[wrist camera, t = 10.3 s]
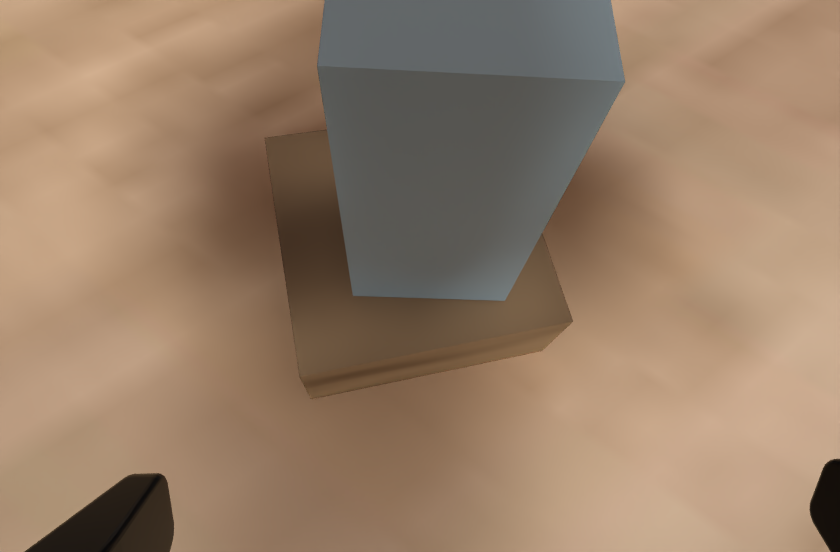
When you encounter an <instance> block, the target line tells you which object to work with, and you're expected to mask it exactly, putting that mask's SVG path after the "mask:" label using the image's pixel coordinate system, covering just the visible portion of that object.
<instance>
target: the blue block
mask: <svg viewBox="0 0 840 552" xmlns="http://www.w3.org/2000/svg"><path fill="white" fill-rule="evenodd" d="M317 68H318V74H319V81H320V87H321V94H322V100H323V106H324V113H325V119H326V126H327V132H328V139H329V145H330V152H331V158H332V165H333V171H334V177H335V184H336V190H337V197H338V203H339V210H340V216H341V223H342V229H343V235H344V242H345V248H346V255H347V261H348V268H349V274H350V281H351V287H352V293H353V296H371V297H402V298H432V299H463V300H494V301H505V300H506V298H507V296H508V294H509V292H510V291H511V289H512V287H513V285H514V283H515V281H516V280H517V278H518V276H519V274H520V272H521V270H522V269H523V267H524V265H525V263H526V261H527V260H528V258H529V256H530V254H531V252H532V250H533V249H534V247H535V245H536V243H537V241H538V240H539V238H540V236H541V234H542V232H543V230H544V229H545V227H546V225H547V223H548V221H549V219H550V218H551V216H552V214H553V212H554V210H555V209H556V207H557V205H558V203H559V201H560V199H561V198H562V196H563V194H564V192H565V190H566V188H567V187H568V185H569V183H570V181H571V179H572V178H573V176H574V174H575V172H576V170H577V168H578V167H579V165H580V163H581V161H582V159H583V157H584V156H585V154H586V152H587V150H588V148H589V147H590V145H591V143H592V141H593V139H594V137H595V136H596V134H597V132H598V130H599V128H600V126H601V125H602V123H603V121H604V119H605V117H606V116H607V114H608V112H609V110H610V108H611V106H612V105H613V103H614V101H615V99H616V97H617V95H618V94H619V92H620V90H621V88H622V86H623V85H624V83H625V78H624V73H623V67H622V61H621V56H620V50H619V44H618V39H617V33H616V27H615V22H614V16H613V10H612V5H611V0H325V3H324V12H323V20H322V29H321V37H320V46H319V55H318V63H317Z"/></svg>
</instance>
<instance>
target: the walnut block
mask: <svg viewBox="0 0 840 552" xmlns="http://www.w3.org/2000/svg"><path fill="white" fill-rule="evenodd" d="M265 144H266V151H267V157H268V164H269V171H270V178H271V185H272V192H273V198H274V205H275V212H276V219H277V226H278V233H279V239H280V246H281V253H282V260H283V267H284V274H285V280H286V287H287V294H288V301H289V308H290V315H291V321H292V328H293V335H294V342H295V349H296V356H297V362H298V369H299V376H300V378H301V380H302V382H303V384H304V386H305V388H306V390H307V392H308V394H309V396H310V398H311V399H315V398H319V397H324V396H329V395H334V394H338V393H343V392H348V391H353V390H358V389H362V388H367V387H372V386H377V385H381V384H386V383H391V382H396V381H401V380H405V379H410V378H415V377H420V376H424V375H429V374H434V373H439V372H444V371H448V370H453V369H458V368H463V367H467V366H472V365H477V364H482V363H486V362H491V361H496V360H501V359H506V358H510V357H515V356H520V355H525V354H529V353H534V352H539V351H542V350H543V349H545V348H546V347H547V346H548V345H549V344H550V343H551V342H552V341H553V340H554V339H555V338H556V337H557V336H558V335H559V334H560V333H561V332H562V331H564V330H565V329H566V328H567V327H568V326H569V325H570V324H571V323H572V322H573V320H572V317H571V314H570V311H569V308H568V305H567V303H566V300H565V297H564V294H563V291H562V288H561V285H560V283H559V280H558V277H557V274H556V271H555V268H554V265H553V263H552V260H551V257H550V254H549V251H548V248H547V245H546V243H545V240H544V237H543V234H541V236H540V238H539V240H538V241H537V243H536V245H535V247H534V249H533V250H532V252H531V254H530V256H529V258H528V260H527V261H526V263H525V265H524V267H523V269H522V270H521V272H520V274H519V276H518V278H517V280H516V281H515V283H514V285H513V287H512V289H511V291H510V292H509V294H508V296H507V298H506V300H505V301H494V300H463V299H432V298H402V297H371V296H353V293H352V287H351V281H350V274H349V268H348V261H347V255H346V248H345V242H344V235H343V229H342V223H341V216H340V210H339V203H338V197H337V190H336V184H335V177H334V171H333V165H332V158H331V152H330V145H329V139H328V132H327V130H321V131H314V132H306V133H298V134H291V135H283V136H275V137H268V138H265Z"/></svg>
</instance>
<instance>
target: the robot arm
mask: <svg viewBox="0 0 840 552" xmlns="http://www.w3.org/2000/svg"><path fill="white" fill-rule="evenodd" d="M810 515H811V518H812V521H813V523H814V525H815V527H816V528H817V530H818V532H819V533H820V535H821V537H822V538H823V540H824V542H825V543H826V545H827V547H828V548H829V550H830V552H840V459H833V460H830V461H829V462H827V463H826V464H825V466H824V468H823V470H822V473H821V475H820V478H819V481H818V483H817V486H816V489H815V491H814V494H813V496H812V499H811V502H810ZM173 535H174V520H173V514H172V508H171V501H170V495H169V489H168V483H167V480H166V478H165V476H163V475H162V474H159V473H151V474H132V475H129V476H127V477H125V478H124V479H122V480H121V481H119V482H118V483H117V484H115V485H114V486H113V487H111V488H110V489H109V490H107V491H106V492H105V493H103V494H102V495H100V496H99V497H98V498H96V499H95V500H94V501H92V502H91V503H90V504H88V505H87V506H86V507H84V508H83V509H82V510H80V511H79V512H77V513H76V514H75V515H73V516H72V517H71V518H69V519H68V520H67V521H65V522H64V523H63V524H61V525H60V526H59V527H57V528H56V529H54V530H53V531H52V532H50V533H49V534H48V535H46V536H45V537H44V538H42V539H41V540H40V541H38V542H37V543H36V544H34V545H33V546H31V547H30V548H29V549H27V550H26V551H25V552H170V549H171V545H172V541H173Z"/></svg>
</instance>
